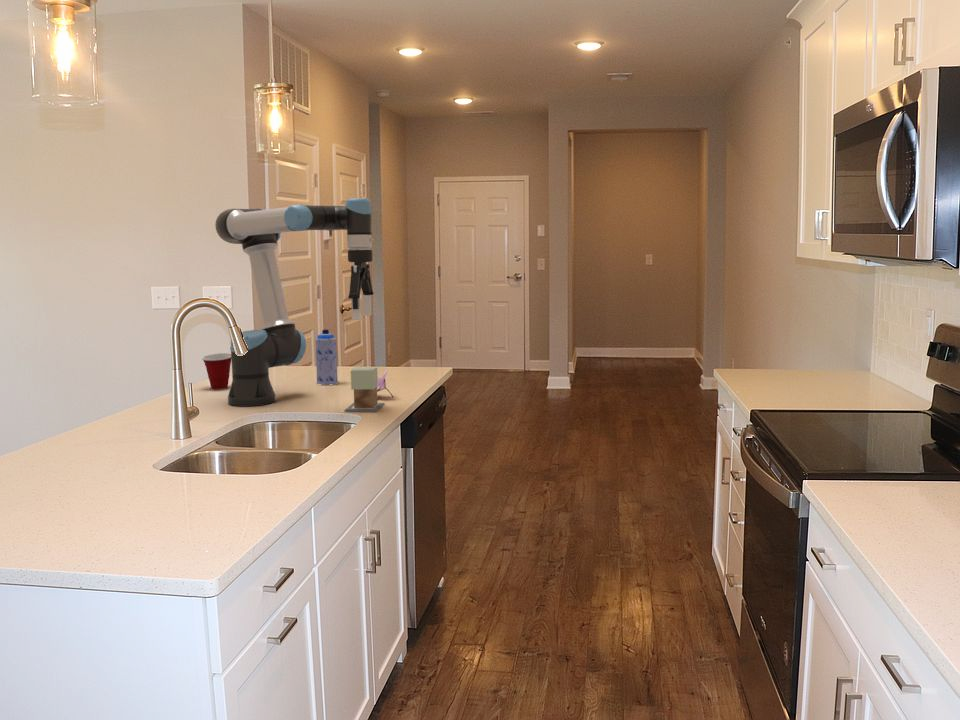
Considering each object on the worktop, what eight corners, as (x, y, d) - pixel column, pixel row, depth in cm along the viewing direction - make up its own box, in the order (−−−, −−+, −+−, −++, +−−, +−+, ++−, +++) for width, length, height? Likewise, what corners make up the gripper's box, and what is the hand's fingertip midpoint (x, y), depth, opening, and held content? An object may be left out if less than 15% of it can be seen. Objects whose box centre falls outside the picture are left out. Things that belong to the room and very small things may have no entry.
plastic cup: (197, 390, 318) (195, 356, 316) (215, 384, 328) (213, 352, 326) (223, 391, 314) (221, 357, 313) (240, 386, 325) (238, 353, 323)
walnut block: (354, 407, 278) (353, 389, 277) (359, 404, 284) (358, 385, 283) (373, 408, 277) (372, 389, 277) (377, 404, 283) (376, 385, 282)
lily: (378, 396, 307) (364, 374, 303) (407, 384, 303) (393, 361, 300) (370, 413, 296) (356, 390, 292) (400, 401, 292) (386, 377, 289)
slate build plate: (344, 411, 276) (344, 409, 276) (354, 404, 287) (354, 402, 287) (376, 412, 274) (376, 410, 274) (384, 404, 286) (384, 402, 286)
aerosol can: (342, 383, 328) (340, 329, 325) (325, 386, 322) (323, 331, 320) (329, 381, 333) (327, 328, 331) (312, 383, 328) (310, 329, 325)
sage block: (351, 389, 277) (350, 370, 276) (356, 385, 284) (355, 367, 283) (373, 389, 276) (373, 370, 275) (377, 385, 283) (377, 367, 282)
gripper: (362, 249, 261) (364, 321, 264) (380, 248, 286) (382, 313, 289) (337, 250, 262) (339, 321, 265) (357, 248, 286) (359, 314, 290)
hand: (362, 317), depth 277 cm, fingers open, 13 cm apart
